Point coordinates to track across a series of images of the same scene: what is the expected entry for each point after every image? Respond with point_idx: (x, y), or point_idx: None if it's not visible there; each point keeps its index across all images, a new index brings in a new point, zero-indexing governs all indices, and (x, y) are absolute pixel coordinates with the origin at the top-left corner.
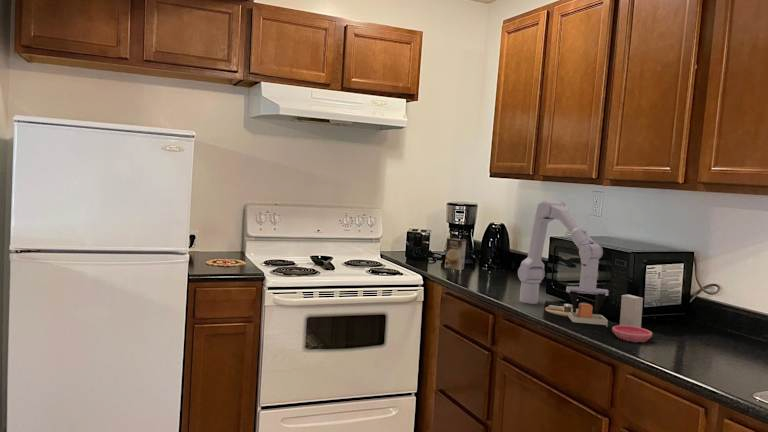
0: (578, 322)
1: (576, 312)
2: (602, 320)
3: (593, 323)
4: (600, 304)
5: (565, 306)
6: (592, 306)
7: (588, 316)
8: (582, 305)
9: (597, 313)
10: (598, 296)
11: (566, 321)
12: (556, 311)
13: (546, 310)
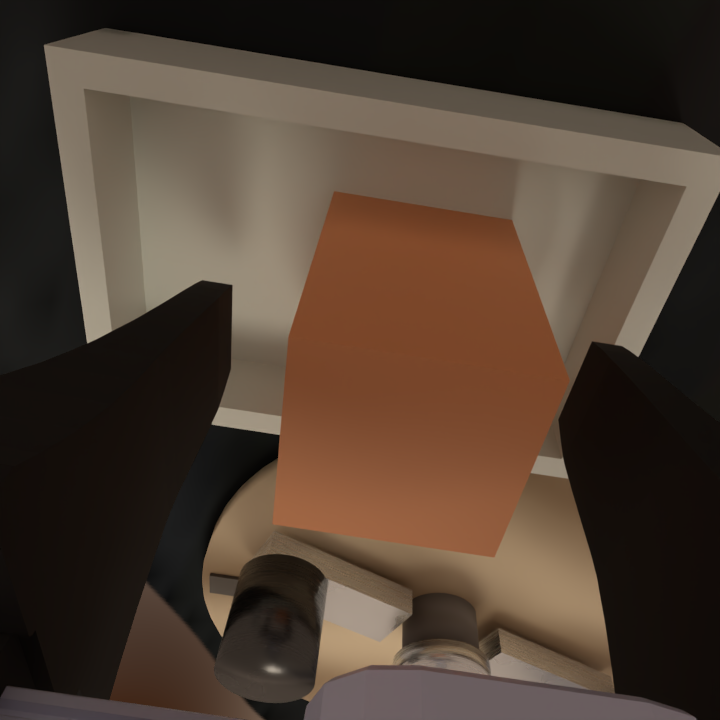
0: (604, 115)
1: (367, 573)
2: (157, 64)
3: (338, 72)
4: (67, 364)
5: (484, 660)
6: (291, 352)
7: (383, 239)
8: (529, 399)
9: (194, 284)
10: (26, 568)
11: (678, 283)
12: (581, 602)
13: None
